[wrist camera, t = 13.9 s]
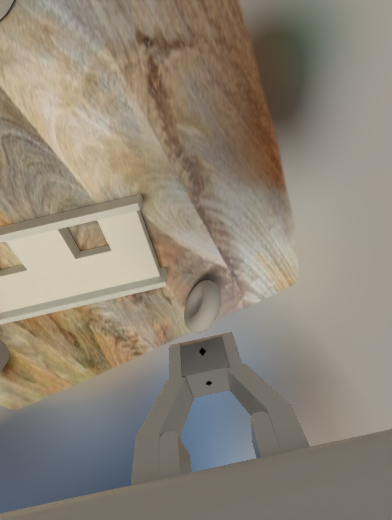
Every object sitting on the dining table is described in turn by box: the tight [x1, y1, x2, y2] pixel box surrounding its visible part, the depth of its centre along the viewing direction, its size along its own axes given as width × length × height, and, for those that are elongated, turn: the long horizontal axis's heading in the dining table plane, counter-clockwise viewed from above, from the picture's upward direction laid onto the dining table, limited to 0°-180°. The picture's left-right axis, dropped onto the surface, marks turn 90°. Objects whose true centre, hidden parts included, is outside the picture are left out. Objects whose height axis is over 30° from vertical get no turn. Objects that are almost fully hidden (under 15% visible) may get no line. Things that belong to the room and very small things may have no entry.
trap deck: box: [0, 194, 167, 324], centre depth 36 cm, size 15×38×4 cm, turn 101°
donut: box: [184, 280, 221, 333], centre depth 41 cm, size 10×4×10 cm, turn 149°
